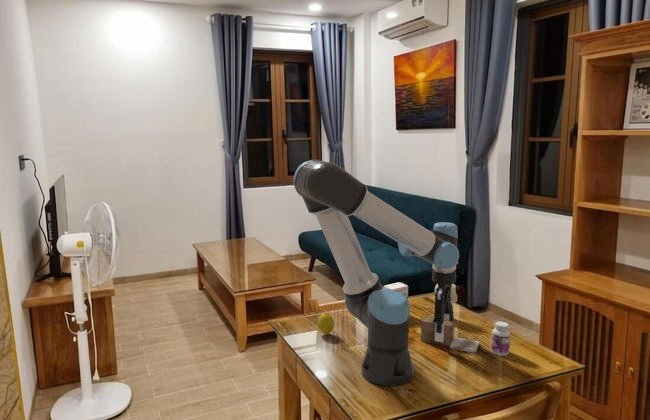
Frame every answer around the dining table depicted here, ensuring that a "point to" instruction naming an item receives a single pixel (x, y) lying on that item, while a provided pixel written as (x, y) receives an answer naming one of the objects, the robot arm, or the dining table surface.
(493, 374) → the dining table surface
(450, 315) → the character mug
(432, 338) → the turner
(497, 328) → the pill bottle
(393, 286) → the ink box
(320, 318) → the lemon
